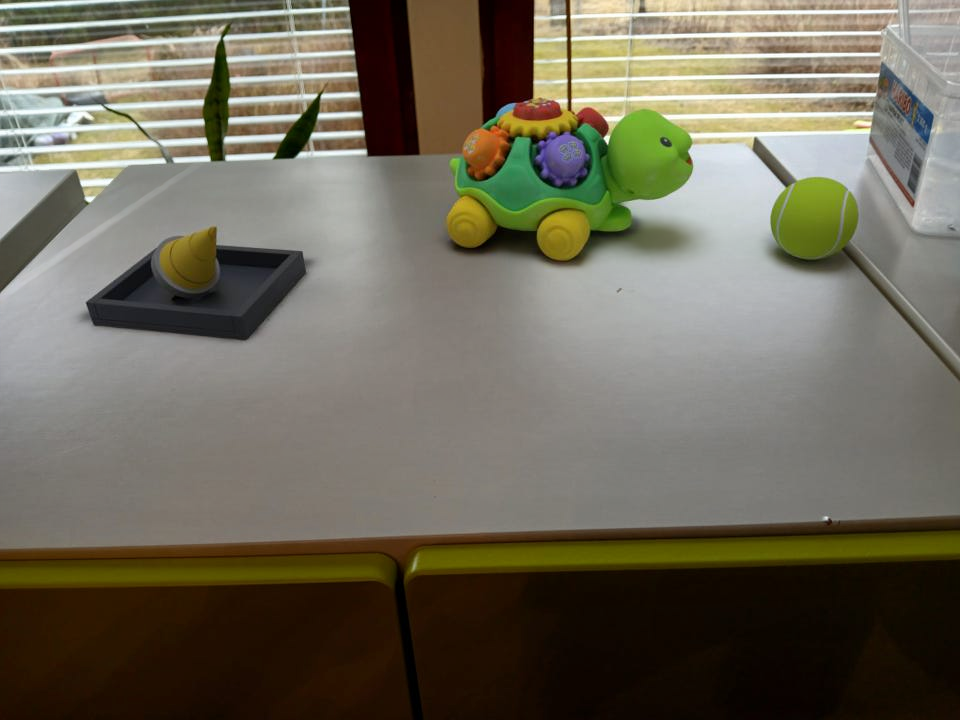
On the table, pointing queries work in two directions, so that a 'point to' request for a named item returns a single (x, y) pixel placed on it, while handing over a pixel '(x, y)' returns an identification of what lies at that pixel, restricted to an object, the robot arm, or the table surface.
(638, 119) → the turtle toy
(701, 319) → the table surface
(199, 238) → the yellow spinning top
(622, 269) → the table surface
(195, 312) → the black tray
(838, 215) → the tennis ball
